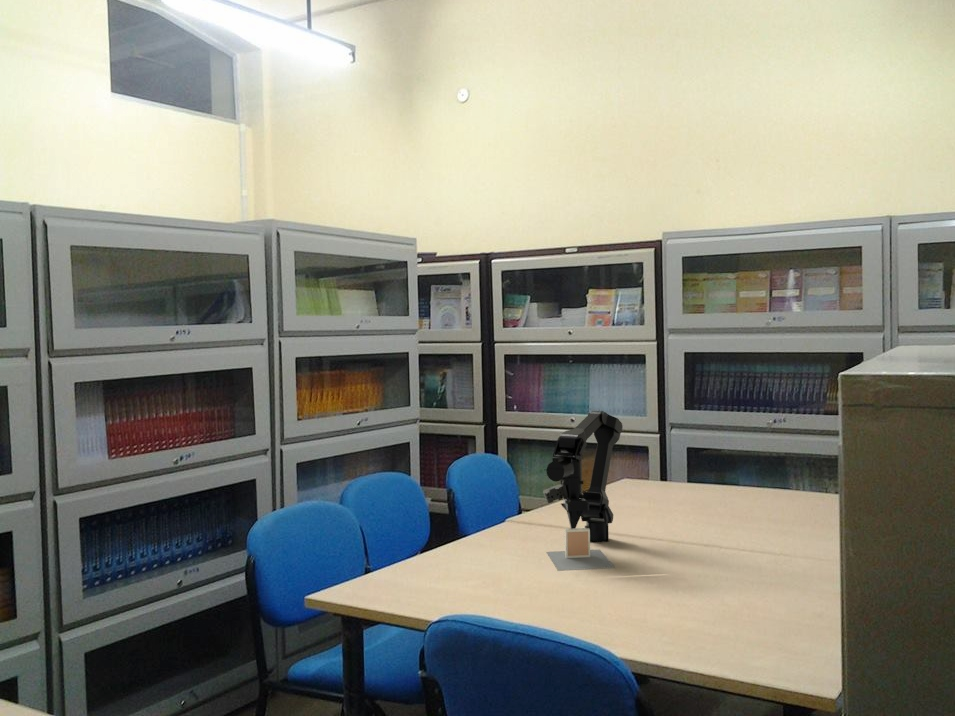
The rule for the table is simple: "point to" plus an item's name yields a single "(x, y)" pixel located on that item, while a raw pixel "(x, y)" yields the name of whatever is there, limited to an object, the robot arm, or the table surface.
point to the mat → (580, 561)
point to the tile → (577, 542)
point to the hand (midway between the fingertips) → (573, 529)
